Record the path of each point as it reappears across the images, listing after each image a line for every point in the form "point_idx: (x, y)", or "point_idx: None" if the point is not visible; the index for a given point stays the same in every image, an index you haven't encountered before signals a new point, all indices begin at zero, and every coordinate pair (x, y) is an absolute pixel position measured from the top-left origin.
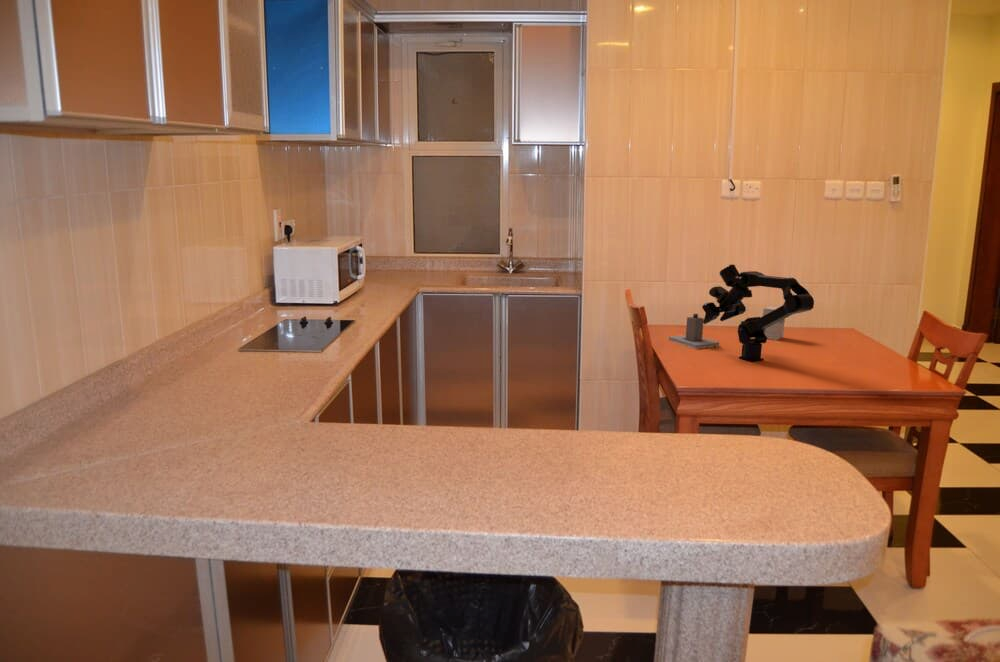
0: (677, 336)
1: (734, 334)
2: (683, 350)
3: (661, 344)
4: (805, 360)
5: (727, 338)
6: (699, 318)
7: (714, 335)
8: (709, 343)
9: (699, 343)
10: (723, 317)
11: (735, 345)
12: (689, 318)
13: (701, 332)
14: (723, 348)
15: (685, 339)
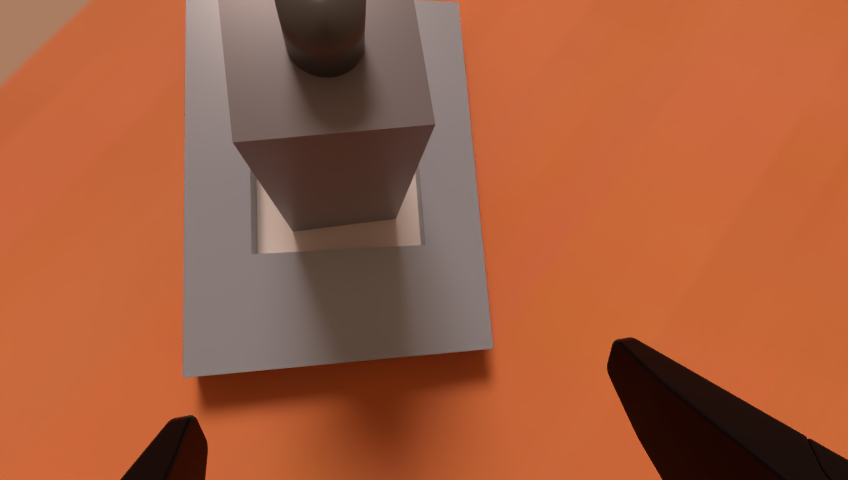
0: None
1: (823, 64)
2: (28, 389)
3: (9, 109)
4: None
5: (709, 144)
6: (354, 110)
7: (671, 31)
8: (372, 358)
9: (275, 324)
10: (667, 431)
11: None
12: (222, 13)
13: (389, 194)
14: (467, 435)
15: None
